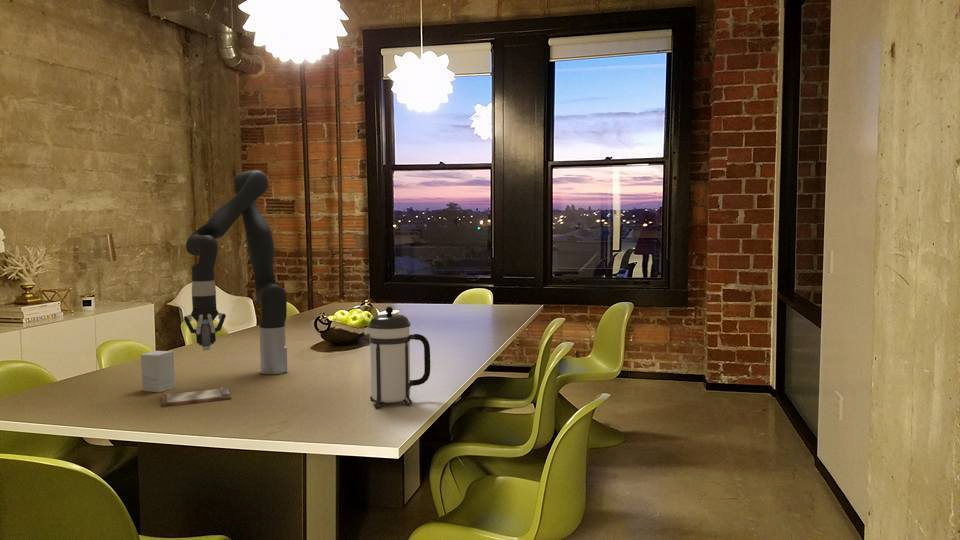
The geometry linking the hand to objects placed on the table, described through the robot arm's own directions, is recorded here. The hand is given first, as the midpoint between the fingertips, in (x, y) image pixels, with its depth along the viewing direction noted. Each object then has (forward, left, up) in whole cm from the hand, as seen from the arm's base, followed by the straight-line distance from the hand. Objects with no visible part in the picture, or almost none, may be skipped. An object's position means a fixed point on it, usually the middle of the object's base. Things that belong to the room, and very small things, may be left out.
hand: (206, 344), depth 231 cm
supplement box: (+15, -4, -15) cm, 22 cm away
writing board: (+4, +14, -15) cm, 21 cm away
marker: (0, 0, -2) cm, 2 cm away
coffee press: (-51, +48, -15) cm, 72 cm away
